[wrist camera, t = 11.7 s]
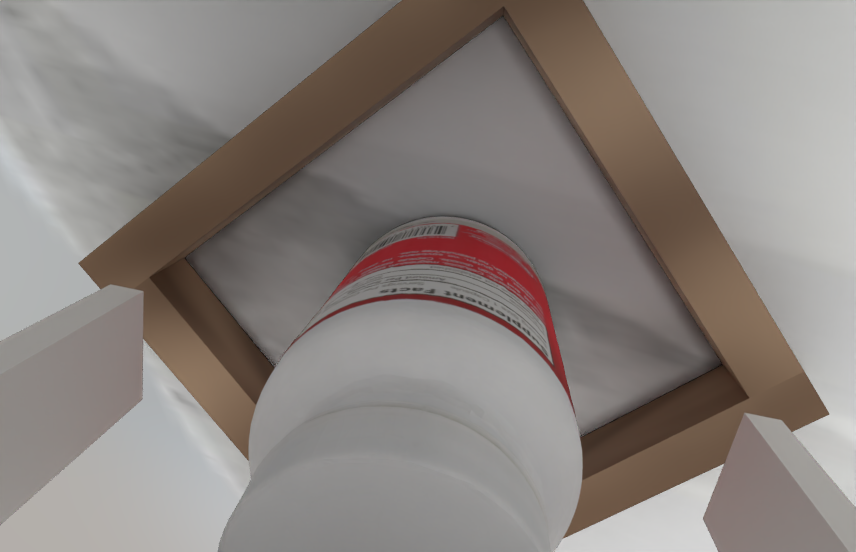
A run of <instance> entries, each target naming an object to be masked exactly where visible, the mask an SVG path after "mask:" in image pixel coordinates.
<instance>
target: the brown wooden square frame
mask: <svg viewBox="0 0 856 552" xmlns="http://www.w3.org/2000/svg"><path fill="white" fill-rule="evenodd" d="M502 16H504V17H505V19H506V21H507V22H508V24H509V25H510V27H511V29H512V30H513V32H514V33H515V35H516V37H517V38H518V40H519V41H520V43H521V45H522V46H523V48H524V49H525V51H526V52H527V54H528V56H529V57H530V59H531V60H532V62H533V64H534V65H535V67H536V68H537V70H538V72H539V73H540V75H541V76H542V78H543V79H544V81H545V83H546V84H547V86H548V87H549V89H550V91H551V92H552V94H553V95H554V97H555V99H556V100H557V102H558V103H559V105H560V107H561V108H562V110H563V111H564V113H565V114H566V116H567V118H568V119H569V121H570V122H571V124H572V126H573V127H574V129H575V130H576V132H577V134H578V135H579V137H580V138H581V140H582V142H583V143H584V145H585V146H586V148H587V149H588V151H589V153H590V154H591V156H592V157H593V159H594V161H595V162H596V164H597V165H598V167H599V169H600V170H601V172H602V173H603V175H604V177H605V178H606V180H607V181H608V183H609V184H610V186H611V188H612V189H613V191H614V192H615V194H616V196H617V197H618V199H619V200H620V202H621V204H622V205H623V207H624V208H625V210H626V211H627V213H628V215H629V216H630V218H631V219H632V221H633V223H634V224H635V226H636V227H637V229H638V231H639V232H640V234H641V235H642V237H643V239H644V240H645V242H646V243H647V245H648V246H649V248H650V250H651V251H652V253H653V254H654V256H655V258H656V259H657V261H658V262H659V264H660V266H661V267H662V269H663V270H664V272H665V274H666V275H667V277H668V278H669V280H670V281H671V283H672V285H673V286H674V288H675V289H676V291H677V293H678V294H679V296H680V297H681V299H682V301H683V302H684V304H685V305H686V307H687V309H688V310H689V312H690V313H691V315H692V316H693V318H694V320H695V321H696V323H697V324H698V326H699V328H700V329H701V331H702V332H703V334H704V336H705V337H706V339H707V340H708V342H709V343H710V345H711V347H712V348H713V350H714V351H715V353H716V355H717V356H718V358H719V359H720V361H721V363H722V364H723V365H722V366H720V367H718V368H716V369H714V370H712V371H710V372H708V373H706V374H704V375H702V376H700V377H698V378H696V379H694V380H693V381H691V382H689V383H687V384H685V385H683V386H681V387H679V388H677V389H675V390H673V391H671V392H669V393H667V394H665V395H663V396H661V397H659V398H657V399H656V400H654V401H652V402H650V403H648V404H646V405H644V406H642V407H640V408H638V409H636V410H634V411H632V412H630V413H628V414H626V415H624V416H622V417H621V418H619V419H617V420H615V421H613V422H611V423H609V424H607V425H605V426H603V427H601V428H599V429H597V430H595V431H593V432H591V433H589V434H587V435H585V436H584V437H582V438H580V439H581V447H582V463H583V469H582V484H581V490H580V495H579V500H578V504H577V507H576V510H575V513H574V516H573V518H572V521H571V523H570V525H569V528H568V530H567V531H566V533H565V535H564V537H563V538H565V537H567V536H570V535H572V534H574V533H576V532H578V531H580V530H583V529H585V528H587V527H589V526H591V525H593V524H595V523H598V522H600V521H602V520H604V519H606V518H608V517H610V516H613V515H615V514H617V513H619V512H621V511H623V510H625V509H628V508H630V507H632V506H634V505H636V504H638V503H640V502H643V501H645V500H647V499H649V498H651V497H653V496H655V495H658V494H660V493H662V492H664V491H666V490H668V489H670V488H673V487H675V486H677V485H679V484H681V483H683V482H685V481H688V480H690V479H692V478H694V477H696V476H698V475H700V474H703V473H705V472H707V471H709V470H711V469H713V468H715V467H718V466H720V465H722V464H724V463H725V461H726V458H727V456H728V453H729V451H730V448H731V446H732V443H733V441H734V438H735V436H736V433H737V430H738V428H739V425H740V423H741V420H742V418H743V415H744V413H748V414H753V415H758V416H763V417H768V418H773V419H778V420H782V421H783V422H784V424H785V425H786V426H787V427H788V428H789V429H790V431H791V432H793V431H795V430H797V429H799V428H801V427H803V426H805V425H808V424H810V423H812V422H814V421H816V420H818V419H820V418H823V417H825V416H827V415H829V412H828V411H827V409H826V407H825V406H824V404H823V402H822V401H821V399H820V397H819V395H818V394H817V392H816V390H815V389H814V387H813V385H812V384H811V382H810V380H809V379H808V377H807V375H806V374H805V372H804V370H803V369H802V367H801V365H800V364H799V362H798V360H797V359H796V357H795V355H794V354H793V352H792V350H791V349H790V347H789V345H788V344H787V342H786V340H785V338H784V337H783V335H782V333H781V332H780V330H779V328H778V327H777V325H776V323H775V322H774V320H773V318H772V317H771V315H770V313H769V312H768V310H767V308H766V307H765V305H764V303H763V302H762V300H761V298H760V297H759V295H758V293H757V292H756V290H755V288H754V287H753V285H752V283H751V281H750V280H749V278H748V276H747V275H746V273H745V271H744V270H743V268H742V266H741V265H740V263H739V261H738V260H737V258H736V256H735V255H734V253H733V251H732V250H731V248H730V246H729V245H728V243H727V241H726V240H725V238H724V236H723V235H722V233H721V231H720V230H719V228H718V226H717V224H716V223H715V221H714V219H713V218H712V216H711V214H710V213H709V211H708V209H707V208H706V206H705V204H704V203H703V201H702V199H701V198H700V196H699V194H698V193H697V191H696V189H695V188H694V186H693V184H692V183H691V181H690V179H689V178H688V176H687V174H686V173H685V171H684V169H683V167H682V166H681V164H680V162H679V161H678V159H677V157H676V156H675V154H674V152H673V151H672V149H671V147H670V146H669V144H668V142H667V141H666V139H665V137H664V136H663V134H662V132H661V131H660V129H659V127H658V126H657V124H656V122H655V121H654V119H653V117H652V116H651V114H650V112H649V110H648V109H647V107H646V105H645V104H644V102H643V100H642V99H641V97H640V95H639V94H638V92H637V90H636V89H635V87H634V85H633V84H632V82H631V80H630V79H629V77H628V75H627V74H626V72H625V70H624V69H623V67H622V65H621V64H620V62H619V60H618V58H617V57H616V55H615V53H614V52H613V50H612V48H611V47H610V45H609V43H608V42H607V40H606V38H605V37H604V35H603V33H602V32H601V30H600V28H599V27H598V25H597V23H596V22H595V20H594V18H593V17H592V15H591V13H590V12H589V10H588V8H587V7H586V5H585V3H584V1H583V0H402V1H401V2H399V3H398V4H397V5H396V6H395V7H393V8H392V9H391V10H390V11H388V12H387V13H386V14H385V15H383V16H382V17H381V18H380V19H379V20H377V21H376V22H375V23H374V24H372V25H371V26H370V27H369V28H367V29H366V30H365V31H364V32H363V33H361V34H360V35H359V36H358V37H356V38H355V39H354V40H353V41H351V42H350V43H349V44H348V45H347V46H345V47H344V48H343V49H342V50H340V51H339V52H338V53H337V54H335V55H334V56H333V57H332V58H330V59H329V60H328V61H327V62H326V63H324V64H323V65H322V66H321V67H319V68H318V69H317V70H316V71H314V72H313V73H312V74H311V75H310V76H308V77H307V78H306V79H305V80H303V81H302V82H301V83H300V84H298V85H297V86H296V87H295V88H294V89H292V90H291V91H290V92H289V93H287V94H286V95H285V96H284V97H282V98H281V99H280V100H279V101H278V102H276V103H275V104H274V105H273V106H271V107H270V108H269V109H268V110H266V111H265V112H264V113H263V114H262V115H260V116H259V117H258V118H257V119H255V120H254V121H253V122H252V123H250V124H249V125H248V126H247V127H245V128H244V129H243V130H242V131H241V132H239V133H238V134H237V135H236V136H234V137H233V138H232V139H231V140H229V141H228V142H227V143H226V144H225V145H223V146H222V147H221V148H220V149H218V150H217V151H216V152H215V153H213V154H212V155H211V156H210V157H209V158H207V159H206V160H205V161H204V162H202V163H201V164H200V165H199V166H197V167H196V168H195V169H194V170H193V171H191V172H190V173H189V174H188V175H186V176H185V177H184V178H183V179H181V180H180V181H179V182H178V183H177V184H175V185H174V186H173V187H172V188H170V189H169V190H168V191H167V192H165V193H164V194H163V195H162V196H161V197H159V198H158V199H157V200H156V201H154V202H153V203H152V204H151V205H149V206H148V207H147V208H146V209H144V210H143V211H142V212H141V213H140V214H138V215H137V216H136V217H135V218H133V219H132V220H131V221H130V222H128V223H127V224H126V225H125V226H124V227H122V228H121V229H120V230H119V231H117V232H116V233H115V234H114V235H112V236H111V237H110V238H109V239H108V240H106V241H105V242H104V243H103V244H101V245H100V246H99V247H98V248H96V249H95V250H94V251H93V252H92V253H90V254H89V255H88V256H87V257H85V258H84V259H83V260H82V261H80V262H79V265H80V266H81V267H82V268H83V269H84V270H85V272H86V273H87V274H88V275H89V276H90V277H91V279H92V280H93V281H94V282H95V283H96V284H97V286H98V287H99V288H100V289H103V288H105V287H106V286H108V285H110V284H111V285H116V286H121V287H126V288H131V289H136V290H141V291H144V297H143V339H144V340H145V341H146V342H147V344H148V345H149V346H150V347H151V348H152V349H153V351H154V352H155V353H156V354H157V355H158V356H159V357H160V359H161V360H162V361H163V362H164V363H165V364H166V366H167V367H168V368H169V369H170V370H171V371H172V373H173V374H174V375H175V376H176V377H177V378H178V380H179V381H180V382H181V383H182V384H183V385H184V386H185V388H186V389H187V390H188V391H189V392H190V393H191V395H192V396H193V397H194V398H195V399H196V400H197V402H198V403H199V404H200V405H201V406H202V407H203V409H204V410H205V411H206V412H207V413H208V414H209V415H210V417H211V418H212V419H213V420H214V421H215V422H216V424H217V425H218V426H219V427H220V428H221V429H222V431H223V432H224V433H225V434H226V435H227V436H228V438H229V439H230V440H231V441H232V442H233V443H234V445H235V446H236V447H237V448H238V449H239V450H240V451H241V453H242V454H243V455H244V456H245V457H246V458H247V460H248V461H249V453H248V452H249V435H250V427H251V422H252V418H253V415H254V411H255V407H256V404H257V402H258V399H259V397H260V394H261V392H262V390H263V388H264V386H265V384H266V382H267V380H268V378H269V377H270V375H271V374H272V372H273V370H274V367H273V366H272V365H271V364H270V362H269V361H268V360H267V359H266V358H265V356H264V355H263V354H262V353H261V351H260V350H259V349H258V348H257V347H256V345H255V344H254V343H253V342H252V340H251V339H250V338H249V337H248V336H247V334H246V333H245V332H244V331H243V329H242V328H241V327H240V326H239V325H238V323H237V322H236V321H235V320H234V318H233V317H232V316H231V315H230V314H229V312H228V311H227V310H226V309H225V307H224V306H223V305H222V304H221V303H220V301H219V300H218V299H217V298H216V296H215V295H214V294H213V293H212V291H211V290H210V289H209V288H208V287H207V285H206V284H205V283H204V282H203V280H202V279H201V278H200V277H199V276H198V274H197V273H196V272H195V271H194V269H193V268H192V267H191V266H190V265H189V263H188V262H187V261H186V260H185V257H186V256H187V255H189V254H190V253H191V252H193V251H194V250H195V249H197V248H198V247H199V246H200V245H202V244H203V243H204V242H206V241H207V240H208V239H210V238H211V237H212V236H214V235H215V234H216V233H218V232H219V231H220V230H222V229H223V228H224V227H225V226H227V225H228V224H229V223H231V222H232V221H233V220H235V219H236V218H237V217H239V216H240V215H241V214H243V213H244V212H245V211H247V210H248V209H249V208H250V207H252V206H253V205H254V204H256V203H257V202H258V201H260V200H261V199H262V198H264V197H265V196H266V195H268V194H269V193H270V192H272V191H273V190H274V189H275V188H277V187H278V186H279V185H281V184H282V183H283V182H285V181H286V180H287V179H289V178H290V177H291V176H293V175H294V174H295V173H297V172H298V171H299V170H300V169H302V168H303V167H304V166H306V165H307V164H308V163H310V162H311V161H312V160H314V159H315V158H316V157H318V156H319V155H320V154H322V153H323V152H324V151H325V150H327V149H328V148H329V147H331V146H332V145H333V144H335V143H336V142H337V141H339V140H340V139H341V138H343V137H344V136H345V135H347V134H348V133H349V132H350V131H352V130H353V129H354V128H356V127H357V126H358V125H360V124H361V123H362V122H364V121H365V120H366V119H368V118H369V117H370V116H372V115H373V114H374V113H375V112H377V111H378V110H379V109H381V108H382V107H383V106H385V105H386V104H387V103H389V102H390V101H391V100H393V99H394V98H395V97H397V96H398V95H399V94H400V93H402V92H403V91H404V90H406V89H407V88H408V87H410V86H411V85H412V84H414V83H415V82H416V81H418V80H419V79H420V78H422V77H423V76H424V75H425V74H427V73H428V72H429V71H431V70H432V69H433V68H435V67H436V66H437V65H439V64H440V63H441V62H443V61H444V60H445V59H447V58H448V57H449V56H450V55H452V54H453V53H454V52H456V51H457V50H458V49H460V48H461V47H462V46H464V45H465V44H466V43H468V42H469V41H470V40H472V39H473V38H474V37H475V36H477V35H478V34H479V33H481V32H482V31H483V30H485V29H486V28H487V27H489V26H490V25H491V24H493V23H494V22H495V21H497V20H498V19H499V18H500V17H502Z"/></svg>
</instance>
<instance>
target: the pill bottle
mask: <svg viewBox="0 0 856 552" xmlns="http://www.w3.org/2000/svg"><path fill="white" fill-rule="evenodd" d="M248 453H249V466H250V474H251V480H250V483H249V485H248V487H247V489H246V490H245V492H244V494H243V496H242V498H241V499H240V501H239V503H238V505H237V506H236V508H235V510H234V511H233V513H232V515H231V517H230V518H229V520H228V522H227V524H226V527H225V529H224V531H223V534H222V537H221V540H220V543H219V548H218V552H554V550H555V549H556V548H557V547H558V545H559V543H560V542H561V540H562V539H563V537H564V535H565V533H566V531H567V530H568V528H569V525H570V523H571V521H572V518H573V516H574V513H575V510H576V507H577V504H578V500H579V495H580V490H581V484H582V469H583V463H582V447H581V439H580V433H579V429H578V425H577V421H576V416H575V411H574V407H573V403H572V400H571V396H570V392H569V387H568V384H567V380H566V376H565V371H564V366H563V363H562V359H561V355H560V350H559V346H558V342H557V339H556V334H555V330H554V326H553V322H552V318H551V314H550V309H549V305H548V302H547V298H546V294H545V291H544V288H543V285H542V283H541V280H540V278H539V275H538V273H537V271H536V270H535V268H534V266H533V265H532V263H531V262H530V260H529V259H528V258H527V256H526V255H525V254H524V253H523V252H522V250H521V249H520V248H519V247H518V246H517V245H516V244H515V243H514V242H512V241H511V240H510V239H508V238H507V237H506V236H504V235H503V234H501V233H500V232H498V231H497V230H494V229H492V228H490V227H488V226H486V225H484V224H481V223H478V222H476V221H472V220H468V219H464V218H457V217H447V216H444V217H428V218H422V219H418V220H415V221H411V222H408V223H406V224H403V225H401V226H399V227H397V228H395V229H393V230H391V231H390V232H388V233H387V234H385V235H384V236H382V237H381V238H380V239H378V240H377V241H375V242H374V243H373V244H372V245H371V246H370V247H369V248H368V249H367V250H366V251H365V252H364V254H363V255H362V256H361V257H360V258H359V260H358V261H357V262H356V264H355V265H354V266H353V267H352V269H351V270H350V271H349V273H348V274H347V276H346V277H345V278H344V279H343V281H342V282H341V283H340V284H339V286H338V287H337V288H336V290H335V291H334V292H333V293H332V295H331V296H330V298H329V299H328V300H327V302H326V303H325V304H324V305H323V307H322V308H321V309H320V310H319V312H318V313H317V314H316V315H315V316H314V317H313V319H312V320H311V321H310V322H309V324H308V325H307V326H306V327H305V329H304V330H303V331H302V332H301V334H300V335H299V336H298V337H297V338H296V339H295V340H294V341H293V343H292V344H291V346H290V347H289V348H288V349H287V351H286V352H285V353H284V354H283V356H282V358H281V360H280V361H279V363H278V364H277V366H276V367H275V369H274V370H273V372H272V374H271V375H270V377H269V378H268V380H267V382H266V384H265V386H264V388H263V390H262V392H261V394H260V397H259V399H258V402H257V404H256V407H255V411H254V415H253V418H252V422H251V427H250V435H249V452H248Z"/></svg>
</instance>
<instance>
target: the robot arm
mask: <svg viewBox="0 0 856 552" xmlns="http://www.w3.org/2000/svg"><path fill="white" fill-rule="evenodd" d="M143 297H144V291H141V290H136V289H131V288H126V287H121V286H116V285H111V284H110V285H108V286H106V287H105V288H103V289H101V290H99V291H97V292H95V293H93V294H91V295H89V296H87V297H85V298H83V299H81V300H79V301H78V302H75V303H74V304H72V305H70V306H68V307H66V308H64V309H62V310H60V311H58V312H56V313H54V314H52V315H50V316H48V317H46V318H44V319H43V320H41V321H39V322H37V323H35V324H33V325H31V326H29V327H27V328H25V329H23V330H21V331H19V332H17V333H15V334H13V335H12V336H9V337H8V338H6V339H4V340H2V341H0V525H1V524H2V523H3V522H5V521H6V520H7V519H8V518H9V517H10V516H11V515H12V514H14V513H15V512H16V511H17V510H18V509H19V508H20V507H21V506H23V505H24V504H25V503H26V502H27V501H28V500H29V499H30V498H32V497H33V496H34V495H35V494H36V493H37V492H38V491H39V490H41V489H42V488H43V487H44V486H45V485H46V484H47V483H49V481H51V480H52V479H53V478H54V477H55V476H56V475H57V474H59V473H60V472H61V471H62V470H63V469H64V468H65V467H67V466H68V465H69V464H70V463H71V462H72V461H73V460H75V459H76V458H77V457H78V456H79V455H80V454H81V453H82V452H83V451H85V450H86V449H87V448H88V447H89V446H90V445H91V444H93V443H94V442H95V441H96V440H97V439H98V438H99V437H101V435H103V434H104V433H105V432H106V431H107V430H108V429H110V427H112V426H113V425H114V424H115V423H116V422H117V421H119V420H120V419H121V418H122V417H123V416H124V415H125V414H126V413H128V412H129V411H130V410H131V409H132V408H133V407H134V406H136V405H137V404H138V403H139V402H140V401H141V400H142V390H143ZM703 520H704V522H705V524H706V526H707V528H708V531H709V533H710V535H711V537H712V539H713V541H714V543H715V545H716V547H717V550H718V552H856V507H855V506H854V505H853V504H852V503H851V502H850V500H849V499H848V498H847V497H846V496H845V494H844V493H843V492H842V491H841V490H840V489H839V487H838V486H837V485H836V484H835V483H834V481H833V480H832V479H831V478H830V477H829V476H828V474H827V473H826V472H825V471H824V470H823V468H822V467H821V466H820V465H819V464H818V463H817V461H816V460H815V459H814V458H813V457H812V455H811V454H810V453H809V452H808V451H807V450H806V448H805V447H804V446H803V445H802V444H801V442H800V441H799V440H798V439H797V438H796V437H795V435H794V434H793V433H792V432H791V431H790V429H789V428H788V427H787V426H786V425H785V424H784V422H783V421H782V420H778V419H773V418H768V417H763V416H758V415H753V414H748V413H744V415H743V418H742V420H741V423H740V425H739V428H738V430H737V433H736V436H735V438H734V441H733V443H732V446H731V448H730V451H729V453H728V456H727V458H726V461H725V464H724V466H723V469H722V471H721V474H720V476H719V479H718V481H717V484H716V487H715V489H714V492H713V494H712V497H711V499H710V502H709V504H708V507H707V509H706V512H705V515H704V517H703Z"/></svg>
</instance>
